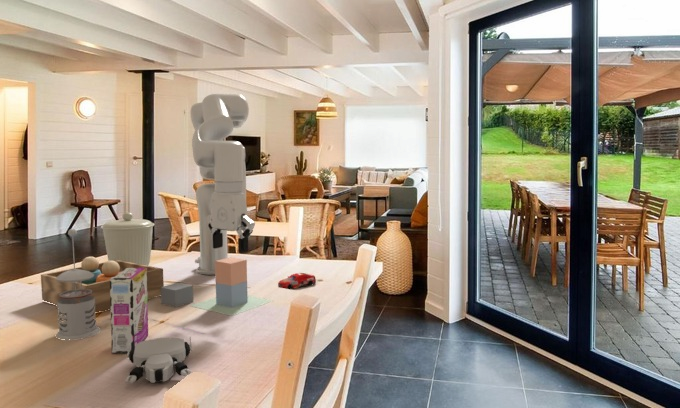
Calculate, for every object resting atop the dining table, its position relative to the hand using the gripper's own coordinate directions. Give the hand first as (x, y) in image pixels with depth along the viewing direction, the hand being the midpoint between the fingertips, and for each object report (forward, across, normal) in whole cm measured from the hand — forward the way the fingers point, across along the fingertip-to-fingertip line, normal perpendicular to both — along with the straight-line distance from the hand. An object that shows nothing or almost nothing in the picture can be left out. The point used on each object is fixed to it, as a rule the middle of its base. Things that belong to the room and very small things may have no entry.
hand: (230, 249), depth 141 cm
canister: (+18, -64, +12) cm, 68 cm away
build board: (+16, +1, -1) cm, 16 cm away
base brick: (+15, +1, -1) cm, 15 cm away
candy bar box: (+16, +2, -33) cm, 36 cm away
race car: (+17, +2, +27) cm, 32 cm away
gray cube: (+16, -12, -9) cm, 22 cm away
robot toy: (+15, +19, -38) cm, 46 cm away
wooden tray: (+17, -37, -15) cm, 43 cm away
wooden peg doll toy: (+17, -36, -13) cm, 42 cm away
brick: (+9, +1, -1) cm, 9 cm away
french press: (+16, -16, -35) cm, 41 cm away
